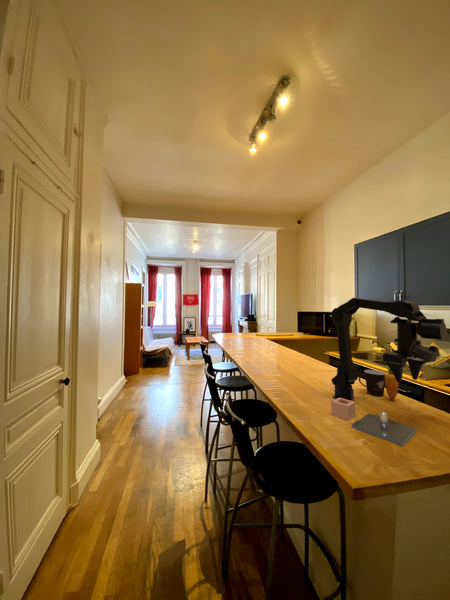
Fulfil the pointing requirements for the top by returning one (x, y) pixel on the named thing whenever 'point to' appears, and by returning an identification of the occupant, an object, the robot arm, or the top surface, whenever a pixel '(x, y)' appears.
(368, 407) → the top surface
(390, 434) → the pin plate
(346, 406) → the socket block
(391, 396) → the carrot
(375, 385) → the coffee mug
